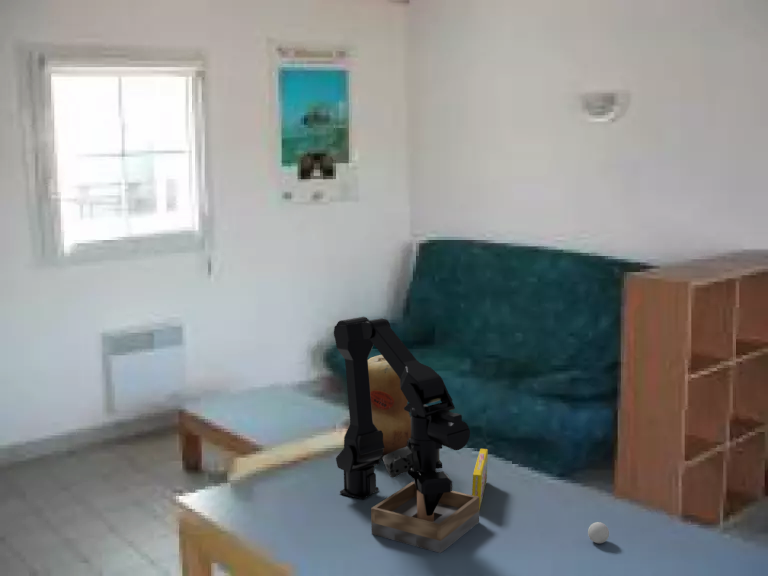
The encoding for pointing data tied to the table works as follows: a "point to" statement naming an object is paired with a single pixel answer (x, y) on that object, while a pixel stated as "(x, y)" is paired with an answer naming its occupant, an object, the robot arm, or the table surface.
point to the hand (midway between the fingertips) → (425, 509)
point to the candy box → (480, 475)
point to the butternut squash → (388, 405)
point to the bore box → (403, 525)
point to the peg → (422, 509)
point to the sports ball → (598, 532)
